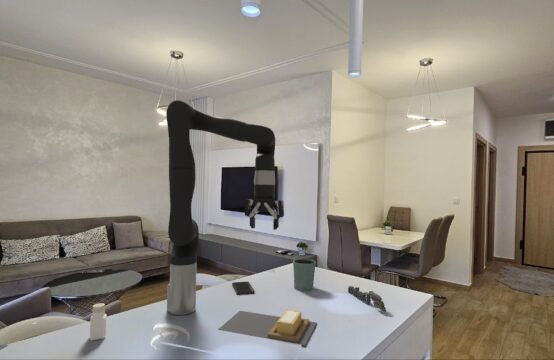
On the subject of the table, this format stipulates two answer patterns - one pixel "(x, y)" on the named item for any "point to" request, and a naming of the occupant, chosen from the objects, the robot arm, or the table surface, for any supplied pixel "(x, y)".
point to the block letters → (367, 297)
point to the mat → (267, 327)
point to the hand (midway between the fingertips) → (263, 228)
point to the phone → (243, 288)
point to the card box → (289, 323)
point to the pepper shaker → (98, 322)
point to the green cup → (304, 274)
